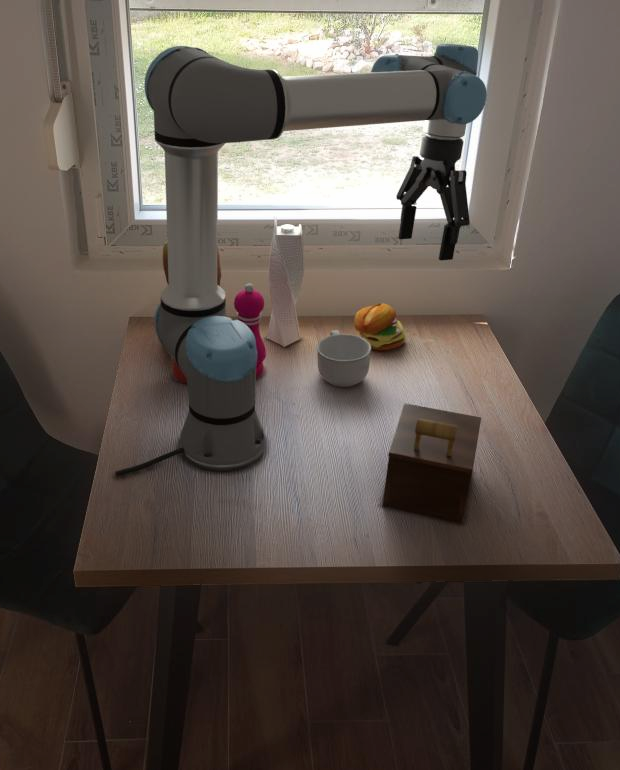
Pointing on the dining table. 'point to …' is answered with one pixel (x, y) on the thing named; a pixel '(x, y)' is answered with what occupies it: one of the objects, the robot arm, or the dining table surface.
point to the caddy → (426, 489)
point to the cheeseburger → (380, 327)
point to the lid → (436, 438)
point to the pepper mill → (252, 319)
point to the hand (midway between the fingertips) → (424, 248)
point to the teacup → (343, 359)
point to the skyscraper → (285, 282)
